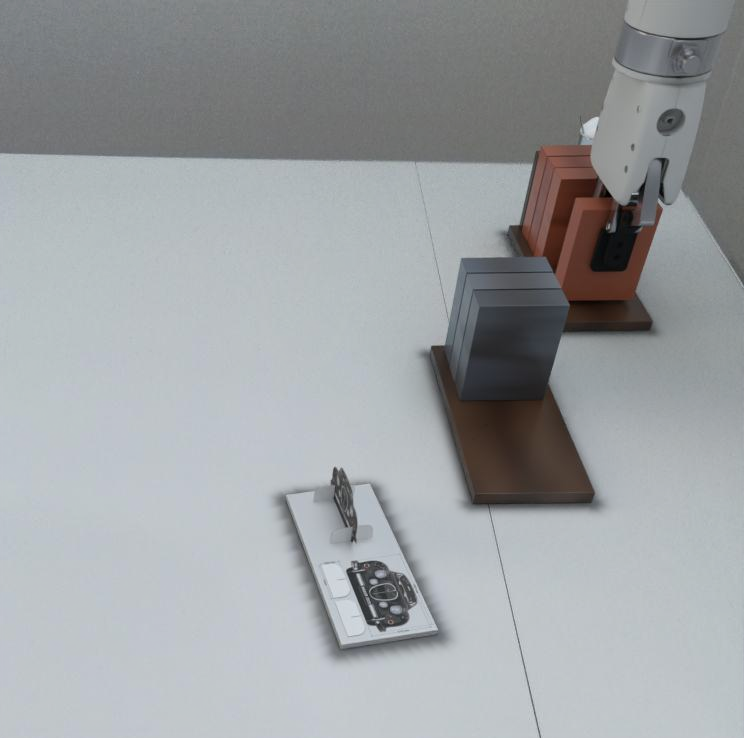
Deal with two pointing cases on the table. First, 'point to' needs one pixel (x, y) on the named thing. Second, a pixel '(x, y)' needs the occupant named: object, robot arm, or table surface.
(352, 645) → the car cutout
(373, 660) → the table surface
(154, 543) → the table surface
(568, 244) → the terracotta book
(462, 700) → the table surface
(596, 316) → the terracotta shelf
